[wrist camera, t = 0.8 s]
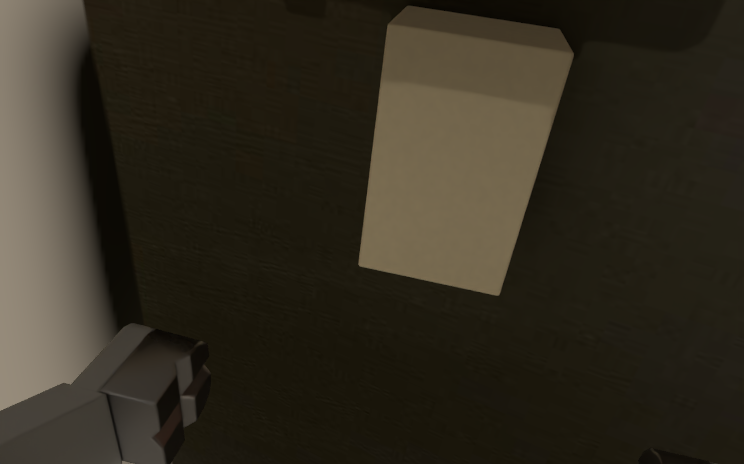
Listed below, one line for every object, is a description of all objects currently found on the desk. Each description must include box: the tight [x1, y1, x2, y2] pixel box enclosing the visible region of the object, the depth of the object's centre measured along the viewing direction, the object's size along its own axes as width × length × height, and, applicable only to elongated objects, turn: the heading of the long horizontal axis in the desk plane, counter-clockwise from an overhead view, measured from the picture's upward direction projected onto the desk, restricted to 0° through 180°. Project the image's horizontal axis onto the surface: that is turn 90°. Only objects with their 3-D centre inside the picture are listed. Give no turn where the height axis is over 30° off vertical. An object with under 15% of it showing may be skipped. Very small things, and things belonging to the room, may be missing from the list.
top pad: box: [359, 6, 574, 296], centre depth 19 cm, size 9×6×4 cm, turn 173°
